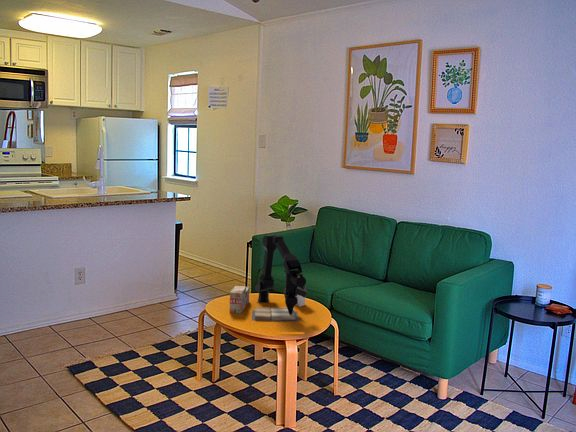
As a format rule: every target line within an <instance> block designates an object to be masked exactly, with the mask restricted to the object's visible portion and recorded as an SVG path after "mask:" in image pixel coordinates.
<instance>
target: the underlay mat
mask: <svg viewBox="0 0 576 432" xmlns="http://www.w3.org/2000/svg"><path fill="white" fill-rule="evenodd" d="M294 312H295V320H272V317H271V320H255V309H253V310H252V311H251V321H252V322H253V321H254V322H257V321H259V322H295V323H296V322H297V323H299V322H300V320H299V319H300V318H299V313H298V311H297V310H294Z"/></svg>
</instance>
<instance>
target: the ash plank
mask: <svg viewBox="0 0 576 432" xmlns="http://www.w3.org/2000/svg"><path fill="white" fill-rule="evenodd" d="M270 309H271V317H272V320H295V312H294V311H295V307H294V308H293V312H292V315H290V314H289V311H288V309H287V306H286V307H285V306H284V307H270Z"/></svg>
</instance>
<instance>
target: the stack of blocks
mask: <svg viewBox="0 0 576 432" xmlns="http://www.w3.org/2000/svg"><path fill="white" fill-rule="evenodd" d="M249 302H250V287H248V286H243V285H241V286H239V285H234V287H233V288H232V289H231V290H230V292H229V313H232V314H241V313H242V312H244V310H245V307H246V306H247V305H248V304H249Z"/></svg>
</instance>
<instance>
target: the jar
mask: <svg viewBox="0 0 576 432" xmlns="http://www.w3.org/2000/svg"><path fill="white" fill-rule="evenodd" d="M304 287H305V288H306V285H305V286H304ZM296 297H297V299H298V303H297V304H296V305H295V306H298V308H299V307H303V306H305V305H306V297H303V296H300V295H298V294H297V296H296Z"/></svg>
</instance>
